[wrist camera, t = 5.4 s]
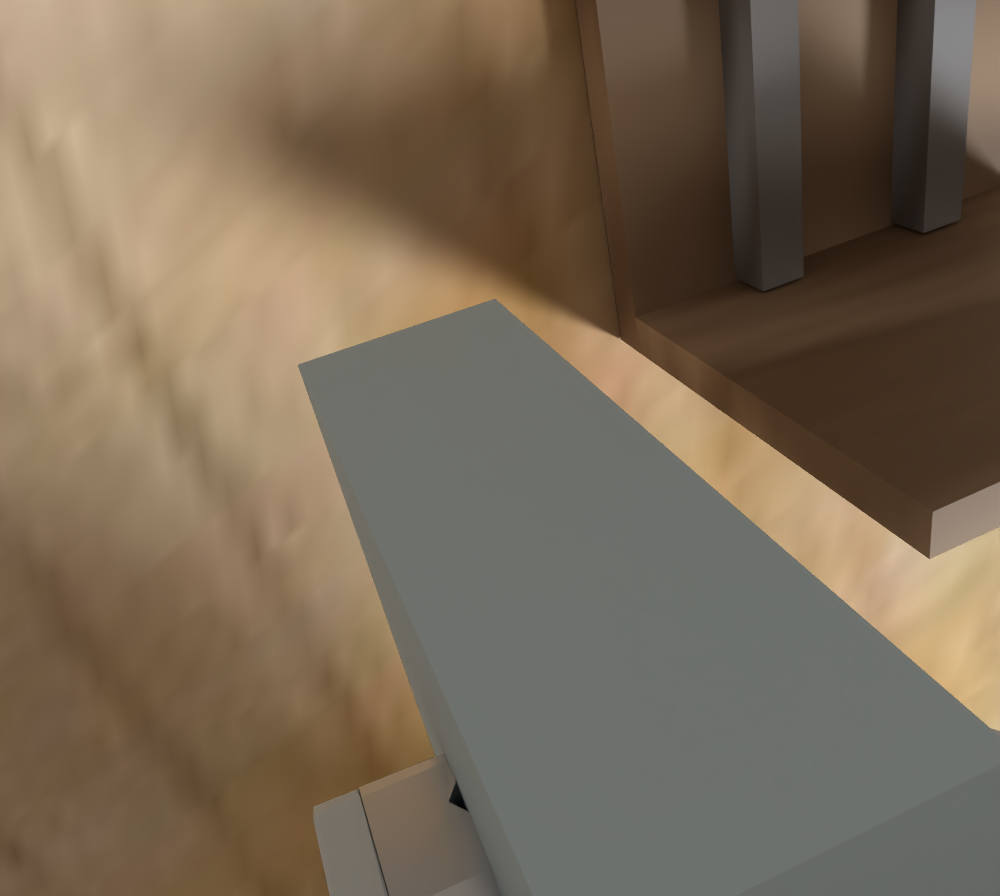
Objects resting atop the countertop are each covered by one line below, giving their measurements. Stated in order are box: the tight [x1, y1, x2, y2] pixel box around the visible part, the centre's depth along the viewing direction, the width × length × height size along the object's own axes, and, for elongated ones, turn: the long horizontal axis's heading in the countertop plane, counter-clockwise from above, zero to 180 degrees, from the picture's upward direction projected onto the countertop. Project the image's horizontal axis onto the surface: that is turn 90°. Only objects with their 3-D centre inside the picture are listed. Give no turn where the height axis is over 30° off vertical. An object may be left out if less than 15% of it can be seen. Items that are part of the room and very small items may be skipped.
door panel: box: [298, 299, 1000, 896], centre depth 10 cm, size 8×2×8 cm, turn 12°
